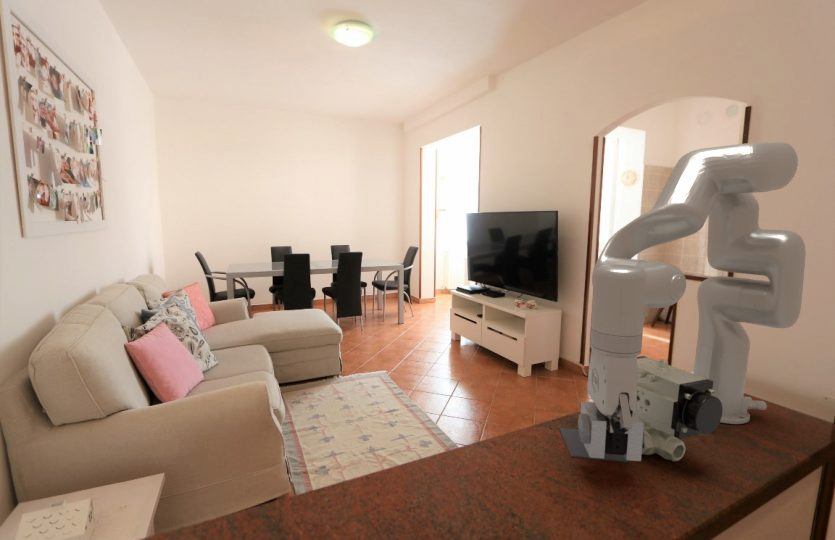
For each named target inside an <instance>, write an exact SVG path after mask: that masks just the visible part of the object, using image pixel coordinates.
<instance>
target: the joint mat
mask: <svg viewBox="0 0 835 540" xmlns="http://www.w3.org/2000/svg"><path fill="white" fill-rule="evenodd" d="M559 432H560V435H561V437H562V439H563V441H564V444H565V447H566V449H567V452H568V454H569V456H570V458H577V459H587V460H588V459H589V460H596V461H606V462H619V463H626V464H629V461H630V460H626V459H625V457H624V456H623V455H614V454H606V453H605V454H604V459H602V458H590V457H589V454H588V452H587V450H586V448H585V446H584V444H583V443H582V442H581V440H580V436H579V430H578V429H574V428H565V427H559Z"/></svg>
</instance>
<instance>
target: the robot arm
mask: <svg viewBox="0 0 835 540" xmlns="http://www.w3.org/2000/svg"><path fill="white" fill-rule="evenodd" d="M798 161H799V160H798V153H797V151H796V149H795V148H794V147H793V146H792V145H791V144H789V143H787V142H783V141H781V142H747V143H737V144H729V145H721V146H713V147H706V148H699V149H695V150H694V149H693V150H691V151H689V152H687V153H685V154H684V155H682V156H681V157H680V158H679V160H677V162H676V164H675V166H674V167H673V170H672V171H671V173H670V175H669V177H668V179H667V181H666V182H665V185H664V186H663V188H662V190H661V192H660V194H659V196H658V198H657V200H656V201H655V203H654V206H652V208H651V209H650V210H648V211H646V212H645V213H643V214H641V215H639V216H638V217H636V218H634V219H633V220H632V221H630V222H629V223H627V224H626V225H624V226H623V227H621V228H620V229H619V230H617V231H616V232H615V233H613V235H612V236H611V237H610V238H609V239H608V241H607V242H606V244H605V246H604V248H603V249H602V250H601V252H600V255H599V256H598V259H597V260H596V262H595V265H594V267H593V270H592V275H591V284H592V304H591V305H592V307H591V322H590V323H591V325H590V341H589V346H590V347H589V348H590V349H591V351H590V357H589V365H588V366H589V367H588V376H587V385H586V390H587V393H588V395H589V397H590V399H591V401H592V402H594V403H595V405H596V406H597V408H598V409H599V411H600V412H601V413H602V415H604V416H607V423H608V430H607V429H606V438H605V453H606V454H614V455H625V454H626V443H627V434H628V430H629V429H631V428H632V420H631V417H633V416H634V415H635V411H636V404H637V357H639V356H640V355H641V354H642V346H643V334H644V333H643V332H644V320H645V309H649V308H650V309H652V308H653V309H662V308H668V307H670V306H674V304H676V303H677V302H678V303H679V301H680V300H681V299H682V297H683V296H684V294H685V291H686V289H687V279H686V276H685V273H684V272H683V271H682V270H681V268H679V267H678V266H676V265H674V264H672V263H669V262H668V263H667V262H662V261H654V260H653V261H652V260H645V259H633V258H634V257H635V256H636V255H638V254H639V253H641V252H643V251H645V250H647V249H650V248H653V247H655V246H658V245H662V244H663V245H664V244H665V243H666V244H667V243H670V242H671V243H672V242H674V241H677V240H680V239H684V238H687V237H690V236H692V235H694V234H696V233H698V232H699V231H700V230H701V229H702V228H703V227H704V225H705V223H706V221H707V219H708V221H707V222H708V223H707V225H708V226H707V243H706V244H707V245H706V246H707V248H706V251H707V252H706V255H707V256H706V257H707V262H708V264H709V266H710V267H711V268H712V269H714V270H717V271H721V272H727V273H736V274H745V275H755V276H762V277H763V276H764V277H766V278H768V280H761V279H753V278H745V277H736V276H726V275H725V276H723V275H721V276H712V277H708V278H706V279H704V280H703V281H702V282H701V283H700V284H699V286H698V287H697V296H696V297H697V299H696V300H697V307H698V308H697V309H698V329H697V339H696V350H695V357H694V364H693V365H694V367H693V372H692V374H695V375H698V376H700V377H703V378H706V379H708V380H711V381H713V388H712V390H714V394H713V395H712V396H715V397H717V398H718V399H719V400H720V401H721V403H722V408H723V412H722V417H721V420H720V423H722V424H728V425H729V424H730V425H742V424H746V423H749V422H750V420H751V419H750V418H751V414H750V413H749V411H750V410H752V409H754V410H760V411H761V410H762V411H765V410H767V409H768V405H767V403H766V402H765V400H753V398H752V397H751V396H744V395H745V386H746V377H747V370H748V365H749V355H750V349H751V342H750V337H749V336H748V333H747V331H746V330H745V329H744V327H743V325H742V324H741V323H746V324H752V325H757V326H762V327H768V328H772V329H773V328H774V329H775V328H776V329H788V328H791V327H793V326H794V325H795V324H796V323H797V322H798V320H799V318H800V315H801V314H800V313H801V309H802V301H803V300H802V299H803V292H804V291H803V290H804V278H805V269H806V245H805V241H804V239H803V237H802V236H801V235H800V234H799V233H798V232H794V231H792V230H786V229H761V228H760V226H759V225H760V224H759V221H760V220H759V219H760V218H759V217H760V216H759V215H760V205H759V202H758V200H757V199H756V197H755V196H754V194H753V193H767V192H771V191H776V190H781V189H784V188H785V187H786V186H788V184H790V182H791V181H792V180H793V178H794V177H795V175H796V173H797V170H798V165H799V164H798V163H799V162H798ZM616 409H619V412H614V411H615V410H616ZM613 417H620V420H619V421H616V422H615V423H614V424H613Z"/></svg>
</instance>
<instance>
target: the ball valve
mask: <svg viewBox="0 0 835 540" xmlns="http://www.w3.org/2000/svg"><path fill="white" fill-rule="evenodd" d="M712 388H713V381H711V380H708V379H706V378H703V377H700V376H698V375H695V374H693V372H692V373H691V372H690V371H687V370H684V369H681V368H678V367H675V366H672V365H670V364H669V361H668V360H665V359H658V360H657V359H653V358H650V357H648V356H646V355H641V356H640V355H639V356H637V404H636V411H635V413H636V414H637V416H638V417H639V418H640V419H641V421H642V422H643V423H644V428H643V430H644V444H643V446H642V454H641V455H647V456H651V455H653V454H654V455H655V454H657V455H658V456H659V457H662V458H663V459H665V460H670V461H672V462H679V461H681V460H682V459H683V457H684V455H685V452H686V449H687V448H686V445H685V443H684V441H683V439H686V438H691V437H695V436H698V435H704V436H705V435H709V434H711V433H713V432H714V431H715V430H716V429H717V428H718V426H719V424H720V423H721V422H720V420H721V417H722V412H723V408H722V403H721V401H720V400H719V399H718V398H717V397H715V396H712V395H713V394H714V390H712Z"/></svg>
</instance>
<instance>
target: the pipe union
mask: <svg viewBox="0 0 835 540" xmlns="http://www.w3.org/2000/svg"><path fill="white" fill-rule="evenodd" d="M580 403H581V404H580V405H581V406H580V413H579V415H578V418H577V420H578V421H577V428H578V429H577V430H579V436H580V440H581V442H582V443H583V444H584V446H585V448H586V450H587V452H588V454H589V457H590V458H602V459H604V454H605V438H606V429H607V430H608V423H607V416H604V415H602V413H601V412H600V411H599V409H598V408H597V406H596V405H595V403H594V402H593V401H581V402H580ZM614 412H619V409H616V410H615V411H614ZM619 420H620V417H613V424H614V423H615V422H616V421H619ZM631 420H632V428H631V429H629V430H628V434H627V443H626V454H625V455H623V456H624V457H625V459H626V460H628V461H631V462H632V461H634V462H641V461H642V455H643V454H642V446H643V444H644V430H643V428H644V423H643V422H642V421H641V419H640V418H639V417H638V416H637V414H636V413H635V415H634V416H633V417H631Z"/></svg>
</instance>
